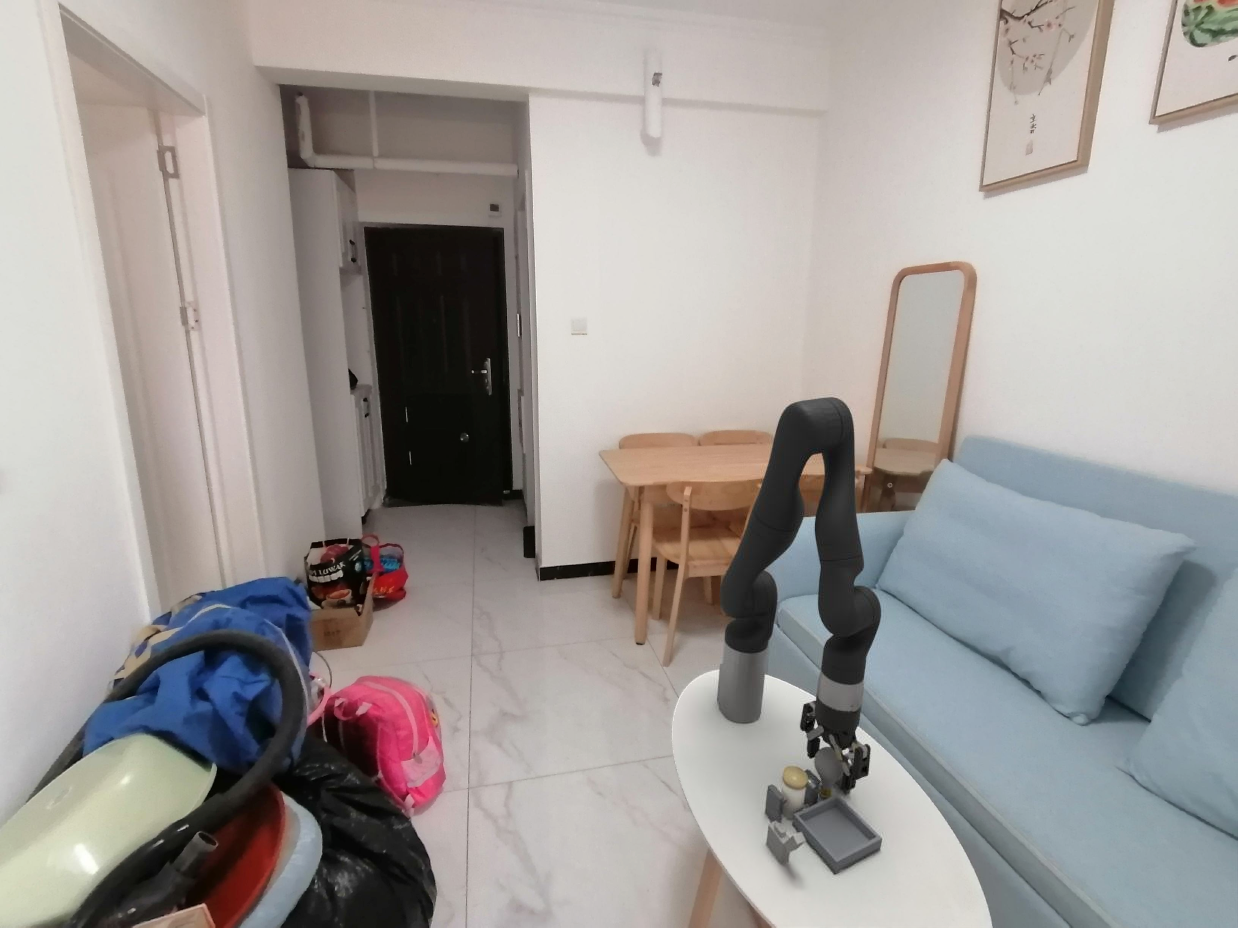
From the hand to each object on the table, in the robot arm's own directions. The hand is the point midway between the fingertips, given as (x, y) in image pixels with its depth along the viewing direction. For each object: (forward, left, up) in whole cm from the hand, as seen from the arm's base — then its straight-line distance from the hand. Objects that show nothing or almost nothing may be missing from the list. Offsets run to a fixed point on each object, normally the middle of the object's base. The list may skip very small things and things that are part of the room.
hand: (829, 772), depth 110 cm
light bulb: (0, 0, -6) cm, 6 cm away
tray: (+7, -5, -6) cm, 10 cm away
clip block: (0, -4, -6) cm, 7 cm away
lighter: (+7, -16, -6) cm, 18 cm away
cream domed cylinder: (0, -8, -6) cm, 10 cm away
